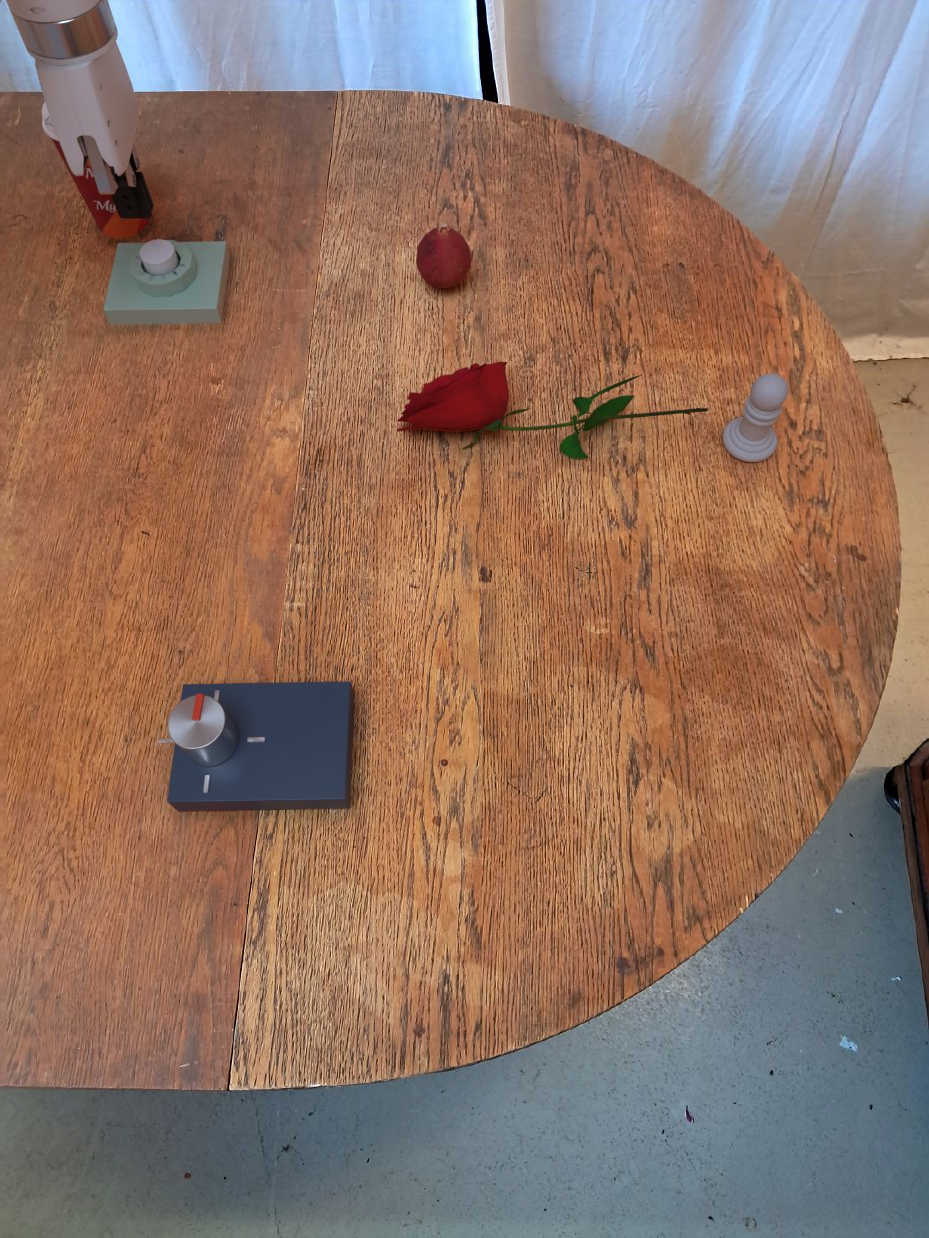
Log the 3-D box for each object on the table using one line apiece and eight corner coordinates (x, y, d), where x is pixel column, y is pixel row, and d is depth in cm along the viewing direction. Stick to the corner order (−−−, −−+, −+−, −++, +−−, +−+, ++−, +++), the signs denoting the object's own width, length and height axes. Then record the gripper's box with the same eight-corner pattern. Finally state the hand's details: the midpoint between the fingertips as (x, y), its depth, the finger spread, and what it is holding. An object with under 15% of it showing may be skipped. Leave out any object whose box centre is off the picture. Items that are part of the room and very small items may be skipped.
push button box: (110, 325, 96) (96, 297, 93) (124, 258, 101) (111, 229, 97) (221, 323, 96) (212, 295, 93) (231, 257, 101) (222, 227, 97)
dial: (234, 767, 71) (219, 748, 67) (180, 766, 71) (161, 747, 67) (242, 715, 73) (228, 693, 69) (189, 714, 73) (171, 692, 69)
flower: (715, 335, 80) (383, 354, 82) (718, 442, 80) (387, 457, 83) (698, 361, 89) (399, 377, 92) (700, 457, 89) (402, 470, 92)
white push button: (142, 277, 94) (136, 263, 93) (147, 252, 96) (141, 239, 95) (176, 276, 94) (171, 263, 93) (180, 252, 96) (176, 238, 95)
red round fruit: (430, 311, 97) (427, 251, 90) (410, 276, 99) (405, 215, 92) (479, 295, 98) (480, 234, 91) (458, 260, 100) (456, 198, 93)
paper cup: (125, 254, 101) (75, 140, 88) (75, 229, 103) (20, 113, 90) (171, 214, 104) (130, 97, 91) (122, 189, 106) (75, 72, 93)
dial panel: (162, 812, 73) (149, 801, 70) (177, 697, 77) (166, 683, 74) (349, 808, 73) (344, 798, 70) (354, 694, 77) (350, 680, 74)
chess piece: (714, 453, 88) (738, 392, 80) (730, 414, 90) (755, 350, 82) (766, 471, 87) (796, 411, 79) (782, 431, 89) (812, 369, 81)
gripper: (37, -32, 76) (111, 163, 93) (-2, 77, 69) (86, 267, 86) (125, -32, 76) (184, 163, 93) (95, 77, 70) (164, 266, 86)
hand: (137, 212), depth 89 cm, fingers closed
